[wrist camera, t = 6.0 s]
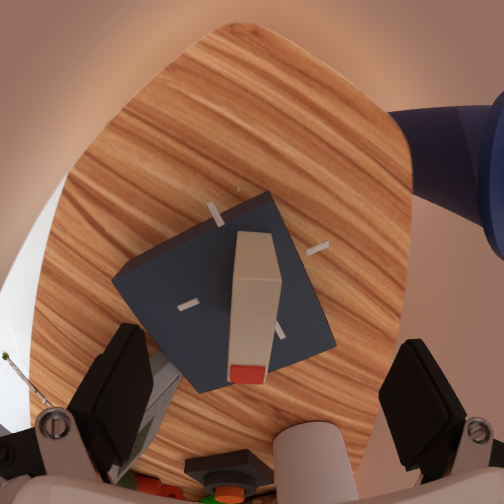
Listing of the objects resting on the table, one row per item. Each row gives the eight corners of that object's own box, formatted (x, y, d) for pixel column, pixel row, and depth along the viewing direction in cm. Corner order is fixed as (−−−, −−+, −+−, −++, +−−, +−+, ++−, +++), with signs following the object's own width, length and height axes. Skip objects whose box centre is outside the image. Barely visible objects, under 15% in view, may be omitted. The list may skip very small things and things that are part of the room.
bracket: (185, 489, 35) (183, 480, 33) (183, 508, 31) (180, 500, 30) (120, 477, 34) (112, 465, 32) (115, 494, 31) (107, 484, 29)
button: (235, 482, 26) (235, 494, 25) (249, 491, 28) (249, 501, 26) (210, 485, 27) (209, 497, 25) (224, 494, 28) (224, 504, 27)
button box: (247, 449, 29) (247, 476, 25) (273, 470, 31) (275, 494, 28) (185, 459, 30) (181, 483, 26) (216, 480, 33) (215, 502, 29)
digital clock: (150, 436, 28) (132, 510, 18) (82, 400, 26) (49, 471, 16) (221, 365, 23) (210, 478, 13) (125, 311, 21) (67, 414, 11)
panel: (286, 158, 17) (294, 162, 14) (349, 312, 21) (362, 336, 18) (117, 245, 19) (97, 263, 16) (203, 368, 23) (199, 395, 20)
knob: (237, 230, 16) (232, 280, 10) (271, 233, 16) (283, 283, 10) (231, 316, 18) (226, 385, 12) (261, 318, 18) (265, 387, 12)
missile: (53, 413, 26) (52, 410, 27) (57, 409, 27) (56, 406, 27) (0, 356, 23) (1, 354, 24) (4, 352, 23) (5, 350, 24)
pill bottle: (337, 447, 29) (359, 547, 15) (273, 456, 30) (281, 560, 16) (345, 413, 26) (378, 535, 12) (270, 424, 27) (279, 554, 13)
